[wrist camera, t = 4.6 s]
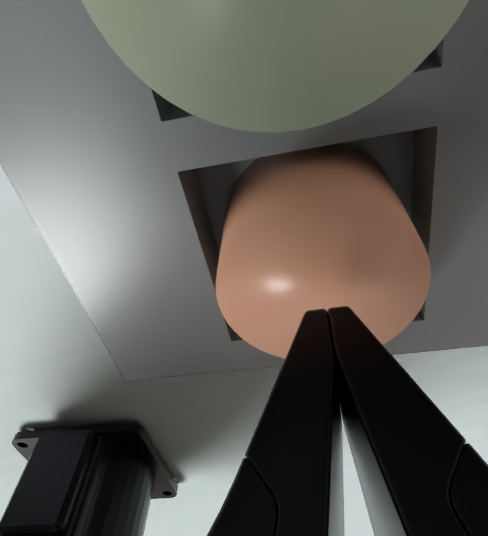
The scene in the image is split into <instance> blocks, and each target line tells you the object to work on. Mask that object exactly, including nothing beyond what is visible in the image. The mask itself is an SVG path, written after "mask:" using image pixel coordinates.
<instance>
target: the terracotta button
mask: <svg viewBox="0 0 488 536" xmlns="http://www.w3.org/2000/svg"><path fill="white" fill-rule="evenodd" d="M430 281H431V267H430V262H429V257H428V254H427V252H426V249H425V247H424V244H423V243H422V241H421V239H420V237H419V235H418V233H417V231H416V229H415V227H414V225H413V223H412V221H411V220H410V218H409V216H408V214H407V212H406V210H405V208H404V206H403V204H402V202H401V200H400V198H399V197H398V195H397V193H396V191H395V189H394V187H393V185H392V183H391V181H390V179H389V178H388V176H387V174H386V173H385V171H384V170H383V169H382V167H381V166H380V165H379V164H378V163H377V162H376V161H375V160H374V159H373V158H371V157H370V156H369V155H368V154H366V153H364V152H363V151H361V150H360V149H358V148H355V147H353V146H351V145H348V144H345V143H338V144H332V145H327V146H321V147H315V148H310V149H304V150H298V151H293V152H287V153H281V154H276V155H270V156H264V157H260V158H258V159H257V160H255V161H254V162H253V163H252V164H251V165H250V166H249V167H248V168H247V169H246V170H245V171H244V172H243V173H242V175H241V176H240V177H239V179H238V180H237V182H236V183H235V185H234V187H233V189H232V192H231V194H230V196H229V200H228V204H227V209H226V216H225V222H224V229H223V236H222V242H221V249H220V255H219V262H218V269H217V276H216V297H217V301H218V305H219V308H220V310H221V313H222V315H223V316H224V318H225V320H226V321H227V323H228V324H229V326H230V327H231V328H232V329H233V330H234V332H236V333H237V334H238V335H239V336H240V337H241V338H242V339H243V340H245V341H246V342H248V343H249V344H250V345H252V346H254V347H256V348H258V349H259V350H261V351H264V352H266V353H268V354H271V355H274V356H277V357H280V358H286V356H287V353H288V351H289V349H290V346H291V344H292V341H293V339H294V337H295V334H296V332H297V330H298V327H299V325H300V322H301V320H302V318H303V315H304V313H305V312H306V311H308V310H315V309H326V311H328V309H329V308H332V307H341V306H348V307H350V308H351V309H352V310H353V312H354V313H355V314H356V315H357V316H358V317H359V318H360V320H361V321H362V322H363V323H364V324H365V325H366V326H367V328H368V329H369V330H370V331H371V332H372V333H373V334H374V336H375V337H376V338H377V339H378V340H379V341H380V342H381V344H382V345H383V344H385V343H387V342H388V341H390V340H391V339H393V338H394V337H396V336H397V335H398V334H399V333H400V332H402V331H403V330H404V329H405V328H406V327H407V326H408V325H409V324H410V323H411V322H412V321H413V320H414V318H415V317H416V315H417V314H418V313H419V311H420V310H421V308H422V306H423V304H424V302H425V300H426V297H427V294H428V291H429V287H430Z"/></svg>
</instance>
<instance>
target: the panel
mask: <svg viewBox="0 0 488 536" xmlns="http://www.w3.org/2000/svg"><path fill="white" fill-rule="evenodd" d="M338 143H345V144H348V145H351V146H353V147H355V148H358V149H360V150H361V151H363V152H364V153H366V154H368V155H369V156H370V157H371V158H373V159H374V160H375V161H376V162H377V163H378V164H379V165H380V166H381V167H382V169H383V170H384V171H385V173H386V174H387V176H388V178H389V179H390V181H391V183H392V185H393V187H394V189H395V191H396V193H397V195H398V197H399V198H400V200H401V202H402V204H403V206H404V208H405V210H406V212H407V214H408V216H409V218H410V220H411V221H412V223H413V225H414V227H415V229H416V231H417V233H418V235H419V237H420V239H421V241H422V243H423V244H424V247H425V249H426V252H427V254H428V257H429V262H430V267H431V281H430V287H429V291H428V294H427V297H426V300H425V302H424V304H423V306H422V308H421V310H420V311H419V313H418V314H417V315H416V317H415V318H414V320H413V321H412V322H411V323H410V324H409V325H408V326H407V327H406V328H405V329H404V330H403V331H402V332H400V333H399V334H398V335H397V336H396V337H394V338H393V339H391V340H390V341H388V342H387V343H385V344H383V346H384V347H385V348H386V349H387V350H388V352H389V353H390V354H391V355H396V354H406V353H416V352H426V351H436V350H446V349H456V348H466V347H476V346H487V345H488V0H469V2H468V3H467V5H466V6H465V8H464V10H463V11H462V13H461V14H460V16H459V18H458V19H457V21H456V22H455V23H454V25H453V26H452V27H451V29H450V30H449V31H448V33H447V34H446V35H445V36H444V38H443V39H442V40H441V42H440V43H439V44H438V45H437V47H436V48H435V49H434V50H433V51H432V52H431V53H430V54H429V55H428V56H427V57H426V58H425V60H424V61H423V62H422V63H421V64H420V65H419V66H418V67H417V68H416V69H415V70H414V71H413V72H412V73H410V74H409V75H408V76H407V77H406V78H405V79H403V80H402V81H401V82H400V83H399V84H398V85H396V86H395V87H394V88H393V89H391V90H390V91H388V92H387V93H385V94H384V95H382V96H381V97H380V98H378V99H377V100H375V101H374V102H372V103H371V104H369V105H367V106H365V107H363V108H361V109H359V110H357V111H355V112H354V113H352V114H350V115H348V116H345V117H342V118H340V119H337V120H335V121H332V122H329V123H327V124H324V125H320V126H316V127H312V128H308V129H304V130H296V131H288V132H252V131H244V130H237V129H232V128H229V127H225V126H221V125H218V124H214V123H211V122H209V121H206V120H204V119H201V118H199V117H197V116H194V115H192V114H190V113H188V112H186V111H184V110H183V109H181V108H179V107H177V106H176V105H174V104H172V103H170V102H169V101H167V100H166V99H165V98H163V97H162V96H161V95H159V94H158V93H156V92H155V91H154V90H152V89H151V88H150V87H148V86H147V85H146V84H145V83H144V82H143V81H142V80H141V79H140V78H139V77H138V76H137V75H136V74H134V73H133V72H132V71H131V70H130V69H129V68H128V67H127V66H126V64H125V63H124V62H123V61H122V60H121V59H120V57H119V56H118V55H117V54H116V53H115V52H114V50H113V49H112V48H111V47H110V46H109V44H108V43H107V41H106V40H105V38H104V37H103V35H102V34H101V32H100V31H99V30H98V28H97V27H96V25H95V24H94V22H93V21H92V19H91V17H90V15H89V13H88V12H87V10H86V8H85V6H84V4H83V3H82V1H81V0H0V165H1V166H2V168H3V170H4V172H5V173H6V175H7V177H8V179H9V180H10V182H11V184H12V185H13V187H14V189H15V191H16V192H17V194H18V196H19V198H20V199H21V201H22V203H23V204H24V206H25V208H26V210H27V211H28V213H29V215H30V217H31V218H32V220H33V222H34V224H35V225H36V227H37V229H38V230H39V232H40V234H41V236H42V237H43V239H44V241H45V243H46V244H47V246H48V248H49V249H50V251H51V253H52V255H53V256H54V258H55V260H56V262H57V263H58V265H59V267H60V268H61V270H62V272H63V274H64V275H65V277H66V279H67V281H68V282H69V284H70V286H71V287H72V289H73V291H74V293H75V294H76V296H77V298H78V300H79V301H80V303H81V305H82V306H83V308H84V310H85V312H86V313H87V315H88V317H89V319H90V320H91V322H92V324H93V325H94V327H95V329H96V331H97V332H98V334H99V336H100V338H101V339H102V341H103V343H104V344H105V346H106V348H107V350H108V351H109V353H110V355H111V357H112V358H113V360H114V362H115V363H116V365H117V367H118V369H119V370H120V372H121V374H122V376H123V377H124V379H125V381H133V380H143V379H153V378H163V377H173V376H183V375H193V374H203V373H214V372H224V371H234V370H244V369H254V368H264V367H274V366H282V365H283V363H284V361H285V358H280V357H277V356H274V355H271V354H268V353H266V352H264V351H261V350H259V349H258V348H256V347H254V346H252V345H250V344H249V343H248V342H246V341H245V340H243V339H242V338H241V337H240V336H239V335H238V334H237V333H236V332H234V330H233V329H232V328H231V327H230V326H229V324H228V323H227V321H226V320H225V318H224V316H223V315H222V313H221V310H220V308H219V305H218V301H217V297H216V276H217V269H218V262H219V255H220V249H221V242H222V236H223V229H224V222H225V216H226V209H227V204H228V200H229V196H230V194H231V192H232V189H233V187H234V185H235V183H236V182H237V180H238V179H239V177H240V176H241V175H242V173H243V172H244V171H245V170H246V169H247V168H248V167H249V166H250V165H251V164H252V163H253V162H254V161H255V160H257V159H258V158H260V157H264V156H270V155H276V154H281V153H287V152H293V151H298V150H304V149H310V148H315V147H321V146H327V145H332V144H338Z"/></svg>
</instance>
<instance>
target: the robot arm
mask: <svg viewBox="0 0 488 536" xmlns="http://www.w3.org/2000/svg"><path fill="white" fill-rule="evenodd" d="M340 408H341V410H340ZM341 413H342V419H343V423H344V427H345V431H346V435H347V438H348V442H349V445H350V449H351V453H352V456H353V460H354V463H355V467H356V470H357V474H358V478H359V481H360V485H361V488H362V492H363V496H364V499H365V503H366V506H367V510H368V514H369V517H370V521H371V524H372V528H373V532H374V535H375V536H488V464H487V463H486V462H485V461H484V460H483V459H482V458H481V456H480V455H479V454H478V453H477V452H476V451H475V450H474V448H473V447H472V446H471V445H470V444H465V443H466V440H465V438H464V437H463V436H462V435H461V434H460V433H459V432H458V430H457V429H456V428H455V427H454V426H453V425H452V424H451V422H450V421H449V420H448V419H447V418H446V417H445V416H444V414H443V413H442V412H441V411H440V410H439V409H438V408H437V406H436V405H435V404H434V403H433V402H432V401H431V400H430V398H429V397H428V396H427V395H426V394H425V393H424V392H423V390H422V389H421V388H420V387H419V386H418V385H417V384H416V382H415V381H414V380H413V379H412V378H411V377H410V376H409V374H408V373H407V372H406V371H405V370H404V369H403V368H402V366H401V365H400V364H399V363H398V362H397V361H396V360H395V358H394V357H393V356H392V355H391V354H390V353H389V352H388V350H387V349H386V348H385V347H384V346H383V345H382V344H381V342H380V341H379V340H378V339H377V338H376V337H375V336H374V334H373V333H372V332H371V331H370V330H369V329H368V328H367V326H366V325H365V324H364V323H363V322H362V321H361V320H360V318H359V317H358V316H357V315H356V314H355V313H354V312H353V310H352V309H351V308H350V307H348V306H341V307H332V308H329V309H328V311H326V309H315V310H308V311H306V312H305V313H304V315H303V318H302V320H301V322H300V325H299V327H298V330H297V332H296V334H295V337H294V339H293V341H292V344H291V346H290V349H289V351H288V353H287V356H286V358H285V361H284V363H283V365H282V368H281V370H280V373H279V375H278V377H277V380H276V382H275V384H274V387H273V389H272V392H271V394H270V396H269V399H268V401H267V404H266V406H265V408H264V411H263V413H262V416H261V418H260V420H259V423H258V425H257V427H256V430H255V432H254V435H253V437H252V439H251V442H250V444H249V447H248V449H247V451H246V454H245V456H246V458H244V459H243V460H242V463H241V465H240V467H239V470H238V472H237V475H236V477H235V479H234V482H233V484H232V486H231V488H230V490H229V493H228V495H227V497H226V499H225V501H224V503H223V506H222V508H221V510H220V512H219V514H218V516H217V518H216V519H215V521H214V523H213V525H212V527H211V529H210V531H209V533H208V535H207V536H344V494H343V448H342V419H341ZM12 445H13V446H14V447H15V448H16V449H17V450H18V451H19V452H20V453H21V454H22V455H23V456H24V457H25V458H26V459H27V461H28V462H27V464H26V466H25V469H24V471H23V473H22V475H21V477H20V479H19V482H18V484H17V486H16V488H15V490H14V492H13V495H12V497H11V499H10V501H9V503H8V505H7V508H6V510H5V512H4V514H3V516H2V518H1V521H0V536H143V534H144V529H145V524H146V519H147V515H148V510H149V505H150V500H151V499H157V498H172V497H175V496H176V495H177V489H178V485H177V484H176V482H175V480H174V479H173V477H172V475H171V474H170V472H169V470H168V469H167V467H166V465H165V464H164V462H163V460H162V459H161V457H160V456H159V454H158V452H157V451H156V449H155V447H154V446H153V444H152V442H151V441H150V439H149V437H148V436H147V434H146V432H145V431H144V429H143V428H142V427H141V426H140V425H138V424H136V423H119V424H106V425H94V426H82V427H70V428H58V429H46V430H34V431H22V432H18V433H16V435H15V437H14V439H13V441H12Z"/></svg>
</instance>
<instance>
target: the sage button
mask: <svg viewBox="0 0 488 536" xmlns="http://www.w3.org/2000/svg"><path fill="white" fill-rule="evenodd" d="M81 1H82V3H83V4H84V6H85V8H86V10H87V12H88V13H89V15H90V17H91V19H92V21H93V22H94V24H95V25H96V27H97V28H98V30H99V31H100V32H101V34H102V35H103V37H104V38H105V40H106V41H107V43H108V44H109V46H110V47H111V48H112V49H113V50H114V52H115V53H116V54H117V55H118V56H119V57H120V59H121V60H122V61H123V62H124V63H125V64H126V66H127V67H128V68H129V69H130V70H131V71H132V72H133V73H134V74H136V75H137V76H138V77H139V78H140V79H141V80H142V81H143V82H144V83H145V84H146V85H147V86H148V87H150V88H151V89H152V90H154V91H155V92H156V93H158V94H159V95H161V96H162V97H163V98H165V99H166V100H167V101H169V102H170V103H172V104H174V105H176V106H177V107H179V108H181V109H183V110H184V111H186V112H188V113H190V114H192V115H194V116H197V117H199V118H201V119H204V120H206V121H209V122H211V123H214V124H218V125H221V126H225V127H229V128H232V129H237V130H244V131H252V132H288V131H296V130H304V129H308V128H312V127H316V126H320V125H324V124H327V123H329V122H332V121H335V120H337V119H340V118H342V117H345V116H348V115H350V114H352V113H354V112H355V111H357V110H359V109H361V108H363V107H365V106H367V105H369V104H371V103H372V102H374V101H375V100H377V99H378V98H380V97H381V96H382V95H384V94H385V93H387V92H388V91H390V90H391V89H393V88H394V87H395V86H396V85H398V84H399V83H400V82H401V81H402V80H403V79H405V78H406V77H407V76H408V75H409V74H410V73H412V72H413V71H414V70H415V69H416V68H417V67H418V66H419V65H420V64H421V63H422V62H423V61H424V60H425V58H426V57H427V56H428V55H429V54H430V53H431V52H432V51H433V50H434V49H435V48H436V47H437V45H438V44H439V43H440V42H441V40H442V39H443V38H444V36H445V35H446V34H447V33H448V31H449V30H450V29H451V27H452V26H453V25H454V23H455V22H456V21H457V19H458V18H459V16H460V14H461V13H462V11H463V10H464V8H465V6H466V5H467V3H468V2H469V0H81Z"/></svg>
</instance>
